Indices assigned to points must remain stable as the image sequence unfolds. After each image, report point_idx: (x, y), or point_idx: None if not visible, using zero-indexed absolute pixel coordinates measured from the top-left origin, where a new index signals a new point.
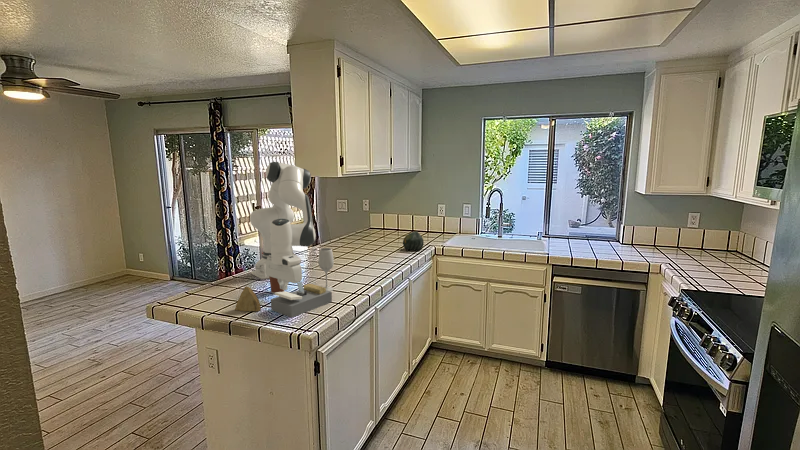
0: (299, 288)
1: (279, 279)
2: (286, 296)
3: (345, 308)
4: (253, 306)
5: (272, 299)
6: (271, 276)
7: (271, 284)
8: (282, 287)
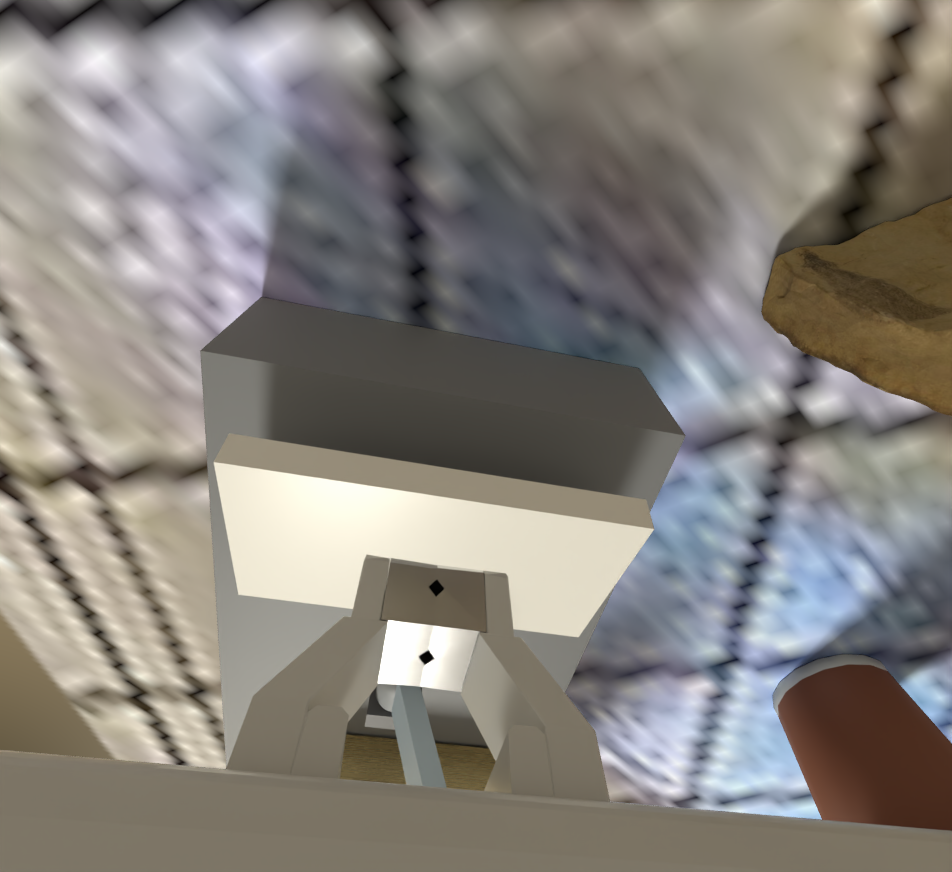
0: (408, 725)
1: (516, 783)
2: (348, 477)
3: (53, 647)
4: (874, 269)
5: (653, 438)
6: (874, 842)
7: (928, 736)
8: (416, 591)
